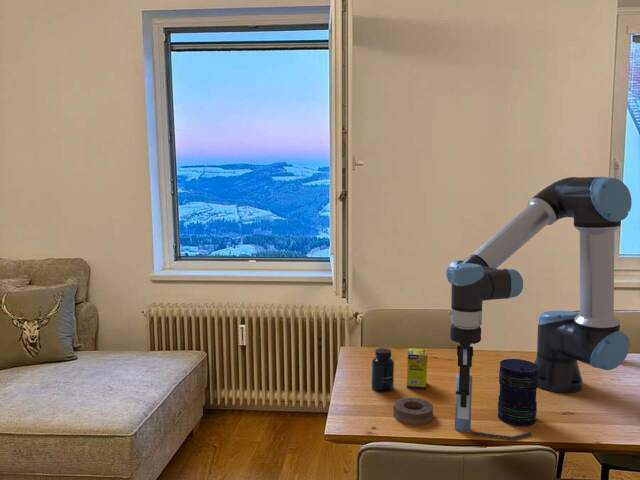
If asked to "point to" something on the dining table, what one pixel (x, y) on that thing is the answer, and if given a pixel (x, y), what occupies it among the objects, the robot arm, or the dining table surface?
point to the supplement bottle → (382, 371)
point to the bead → (413, 411)
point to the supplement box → (417, 368)
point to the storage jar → (518, 392)
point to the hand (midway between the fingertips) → (463, 412)
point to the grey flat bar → (503, 435)
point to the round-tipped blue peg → (460, 424)
